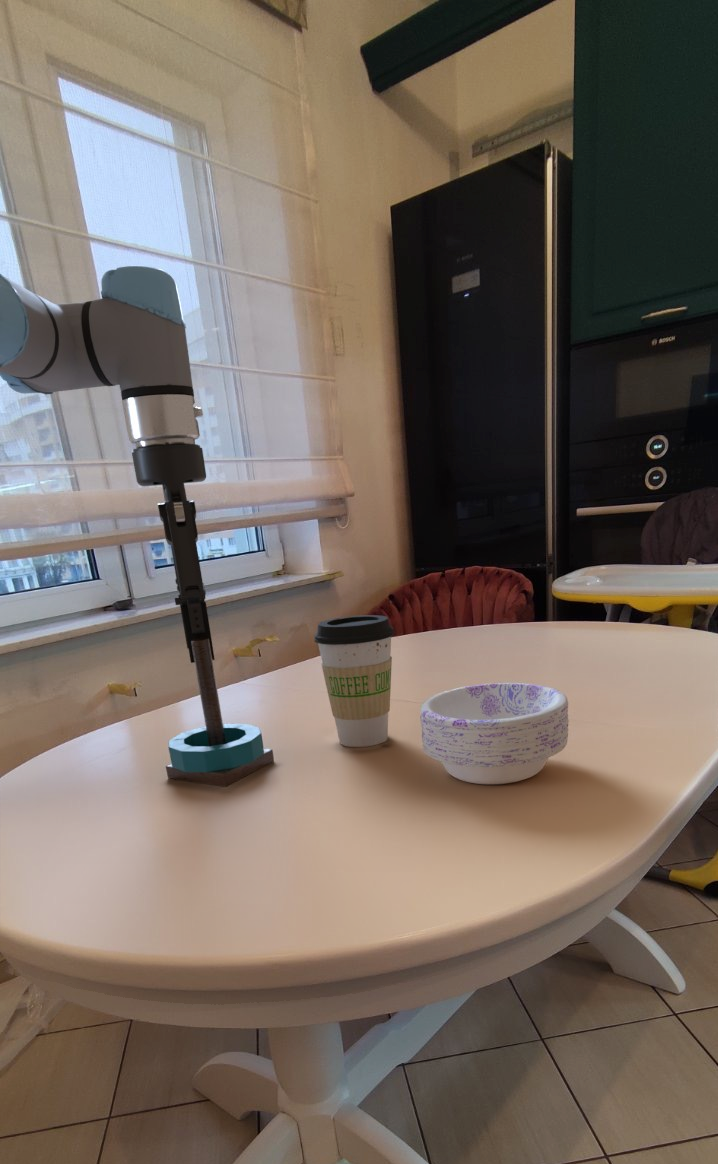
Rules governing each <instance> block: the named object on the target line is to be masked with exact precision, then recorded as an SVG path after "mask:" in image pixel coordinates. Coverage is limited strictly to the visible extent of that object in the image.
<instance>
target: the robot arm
mask: <svg viewBox="0 0 718 1164" xmlns="http://www.w3.org/2000/svg"><path fill="white" fill-rule="evenodd" d="M100 284H101V291H100V296H101V298H98V299H97V298H95V299H94V300H87V301H83V302H69V303H53V302H51V301H49V300H48V299H46V298H44V297H42V296H40V295H39V294H36V293H35V292H33V291H31V290H29V289H27V288H25V287H24V286H22V285H20V284H18V283H16V282H15V281H13V280H11V279H9V278H7V277H6V276H4V275H3V274H1V273H0V378H1V379H2V380H3V381H5V382H6V384H7V385H8V387H9V388H10V389H12V390H13V391H14V392H17V393H20V394H25V395H26V394H43V395H44V396H45V395H46V396H47V395H52V394H53V393H56V392H57V393H58V392H67V391H75V390H82V389H92V388H93V389H94V388H101V387H114V386H115V387H116V386H119V389H120V397H121V404H122V410H123V415H124V421H125V426H126V432H127V437H128V441H129V442H130V443H131V444H135V448H134V449H132V450H133V451H132V452H131V457H132V463H133V469H134V474H135V478H136V482H137V484H138V485H139V486H141V487H153V486H162V492H163V493H162V494H163V499H164V501H163V502H162V503H157V507H158V513H159V518H160V521H161V522H162V525H163V529H164V537H165V541H166V543H167V544H168V545H170V551H171V555H172V561H173V567H174V574H175V581H174V582H175V584H176V589H177V590H176V591H178V593H179V594H177V596H178V597H174V603H175V604H174V605H175V606H179V608H180V613H181V619H182V620H181V621H182V624H183V631H184V637H185V644H186V648H187V650H188V654H189V660H190V664H193V663H194V664H195V662H194V656H193V650H192V644H191V640H193V639H198V638H209V642H210V648H211V654H212V660H213V661H216V660H215V651H214V647H213V640H212V633H211V627H210V620H209V613H208V607H207V602H206V601H205V600H206V598H207V597H206V594H207V593H206V587H205V583H204V582H203V576H202V571H201V570H202V569H201V563H200V558H199V551H198V545H197V543H198V541H199V534H198V528H197V523H196V522H197V521H196V519H197V508H196V503H195V500H188V498H187V493H186V487H185V484H194V483H200V482H204V481H205V480H206V479H207V471H206V463H205V458H204V451H203V447H201V445H200V444H197V443H196V441H195V440H198V439H199V438H200V437H201V434H200V427H199V421H198V420H197V418H200V419H201V418H202V417H203V415H204V412H203V409H202V408H201V407H197V406H196V407H195V406H194V405H195V403H196V401H195V394H194V393H195V392H194V386H193V385H194V384H193V379H192V372H191V363H190V355H189V347H188V340H187V339H188V338H187V332H186V331H187V330H186V329H187V326H186V325H187V324H186V323H185V320H184V316H183V310H182V306H181V305H182V304H181V300H180V295H179V290H178V285H177V283H176V280H175V279H174V278H173V277H172V275H171V274H169V273H168V272H167V271H165V270H164V269H160V268H157V267H155V266H154V267H153V266H147V265H126V266H120V267H116V269H109V270H108V271H107V270H106V272H104V273H103V274H102V276H101V279H100Z"/></svg>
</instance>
